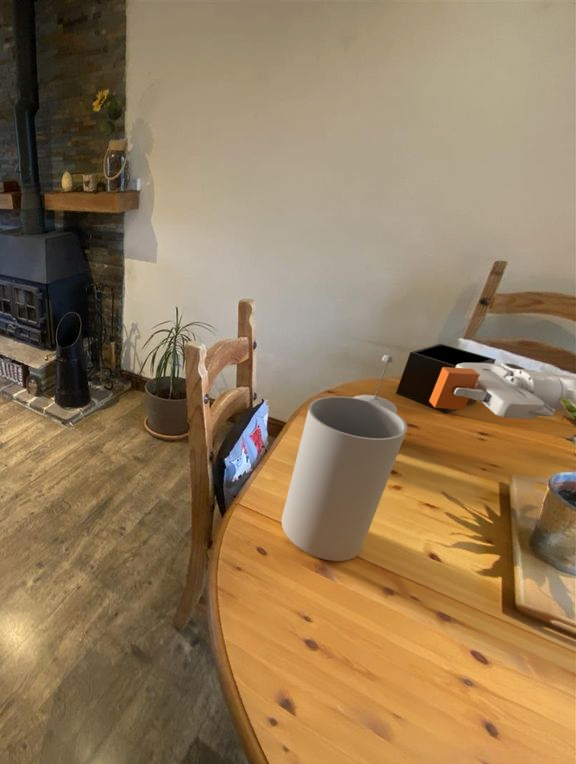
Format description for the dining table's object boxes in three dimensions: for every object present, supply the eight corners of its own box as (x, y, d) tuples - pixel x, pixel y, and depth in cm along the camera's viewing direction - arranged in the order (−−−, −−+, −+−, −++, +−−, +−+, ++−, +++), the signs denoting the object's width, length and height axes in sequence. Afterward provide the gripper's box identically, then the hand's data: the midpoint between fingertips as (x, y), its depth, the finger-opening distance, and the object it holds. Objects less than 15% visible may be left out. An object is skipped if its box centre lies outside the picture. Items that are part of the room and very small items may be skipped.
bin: (476, 402, 110) (496, 359, 104) (446, 414, 106) (465, 369, 100) (424, 383, 120) (440, 343, 114) (395, 393, 116) (410, 352, 110)
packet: (457, 403, 96) (472, 368, 92) (464, 410, 94) (480, 374, 90) (428, 401, 98) (442, 366, 94) (434, 407, 96) (449, 372, 91)
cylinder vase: (361, 524, 76) (403, 406, 65) (360, 575, 67) (410, 449, 55) (285, 501, 82) (312, 390, 71) (275, 545, 73) (305, 425, 62)
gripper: (553, 429, 83) (468, 422, 87) (494, 383, 100) (425, 378, 104) (569, 402, 80) (480, 395, 84) (505, 359, 97) (434, 355, 101)
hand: (449, 386), depth 94 cm, fingers closed on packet, 3 cm apart
